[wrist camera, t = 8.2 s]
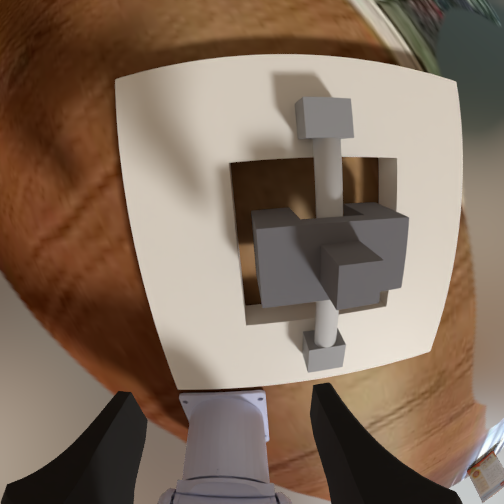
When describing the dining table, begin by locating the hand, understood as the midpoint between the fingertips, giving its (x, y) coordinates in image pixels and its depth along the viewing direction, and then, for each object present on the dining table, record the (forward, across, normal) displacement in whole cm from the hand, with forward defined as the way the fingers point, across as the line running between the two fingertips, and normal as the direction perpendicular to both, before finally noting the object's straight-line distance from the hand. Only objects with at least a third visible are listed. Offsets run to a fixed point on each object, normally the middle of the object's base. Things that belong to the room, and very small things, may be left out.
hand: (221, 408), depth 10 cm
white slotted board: (+10, -6, -3) cm, 12 cm away
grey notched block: (+9, -6, -3) cm, 11 cm away
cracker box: (+9, -89, +100) cm, 134 cm away
